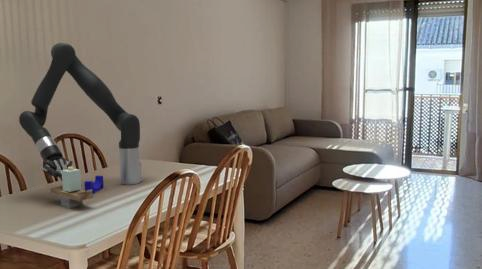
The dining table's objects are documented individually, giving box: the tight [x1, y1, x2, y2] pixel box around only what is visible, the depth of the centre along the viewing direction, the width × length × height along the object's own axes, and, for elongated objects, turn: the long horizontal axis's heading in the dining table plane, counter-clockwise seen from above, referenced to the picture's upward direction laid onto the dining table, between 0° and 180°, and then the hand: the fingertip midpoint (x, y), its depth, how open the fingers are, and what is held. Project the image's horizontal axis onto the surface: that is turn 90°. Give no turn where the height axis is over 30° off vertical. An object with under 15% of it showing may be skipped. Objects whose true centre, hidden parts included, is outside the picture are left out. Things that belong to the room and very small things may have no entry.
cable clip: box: [83, 175, 104, 195], centre depth 206 cm, size 12×4×6 cm, turn 172°
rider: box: [61, 166, 82, 192], centre depth 183 cm, size 5×5×9 cm
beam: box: [49, 185, 94, 209], centre depth 185 cm, size 6×20×7 cm, turn 53°
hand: (67, 182), depth 186 cm, fingers closed
